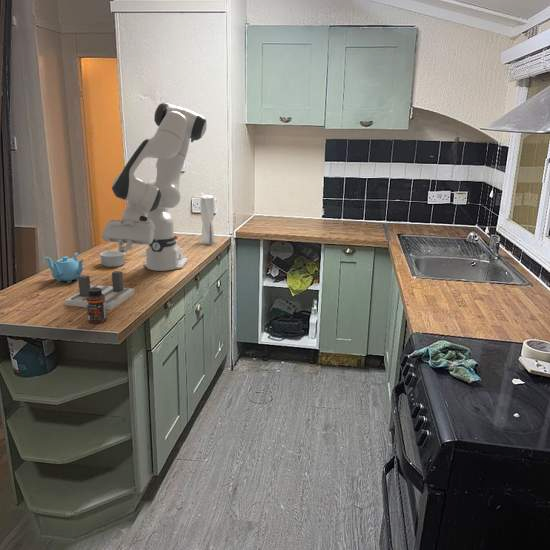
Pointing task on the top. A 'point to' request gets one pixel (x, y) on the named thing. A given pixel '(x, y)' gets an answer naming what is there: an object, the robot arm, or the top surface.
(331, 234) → the top surface
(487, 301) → the top surface
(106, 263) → the saucepan
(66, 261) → the teapot
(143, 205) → the robot arm
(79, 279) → the switch tab
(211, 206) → the skyscraper
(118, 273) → the switch tab
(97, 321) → the supplement bottle
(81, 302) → the white board with strips
